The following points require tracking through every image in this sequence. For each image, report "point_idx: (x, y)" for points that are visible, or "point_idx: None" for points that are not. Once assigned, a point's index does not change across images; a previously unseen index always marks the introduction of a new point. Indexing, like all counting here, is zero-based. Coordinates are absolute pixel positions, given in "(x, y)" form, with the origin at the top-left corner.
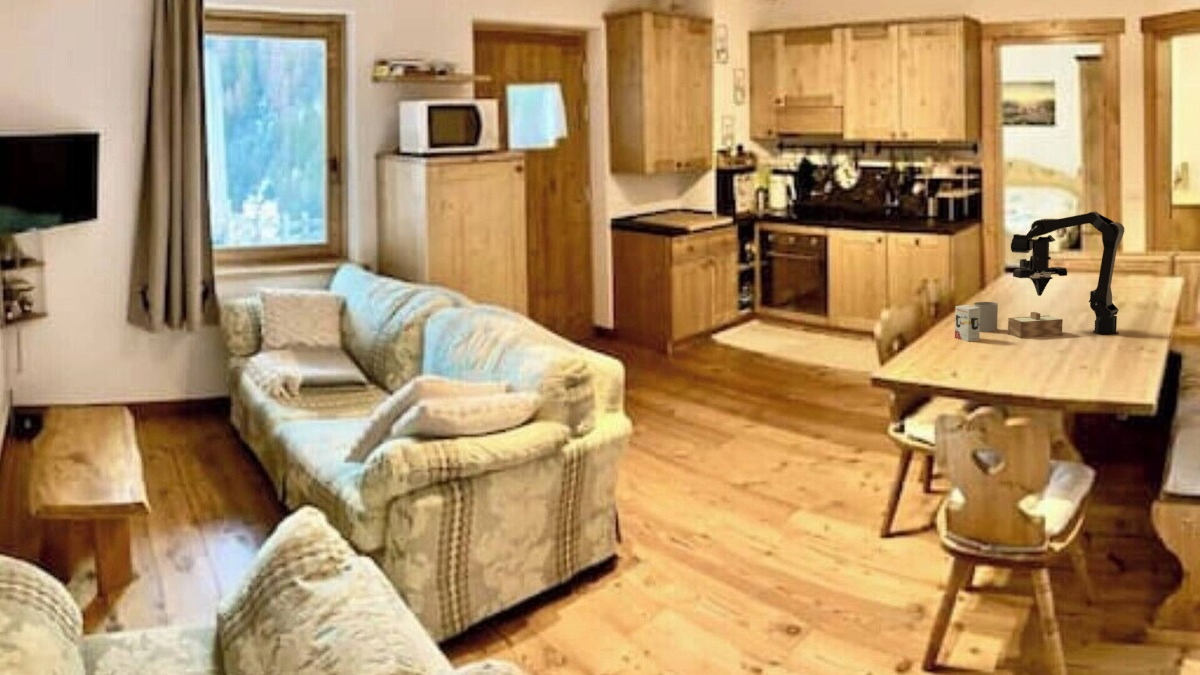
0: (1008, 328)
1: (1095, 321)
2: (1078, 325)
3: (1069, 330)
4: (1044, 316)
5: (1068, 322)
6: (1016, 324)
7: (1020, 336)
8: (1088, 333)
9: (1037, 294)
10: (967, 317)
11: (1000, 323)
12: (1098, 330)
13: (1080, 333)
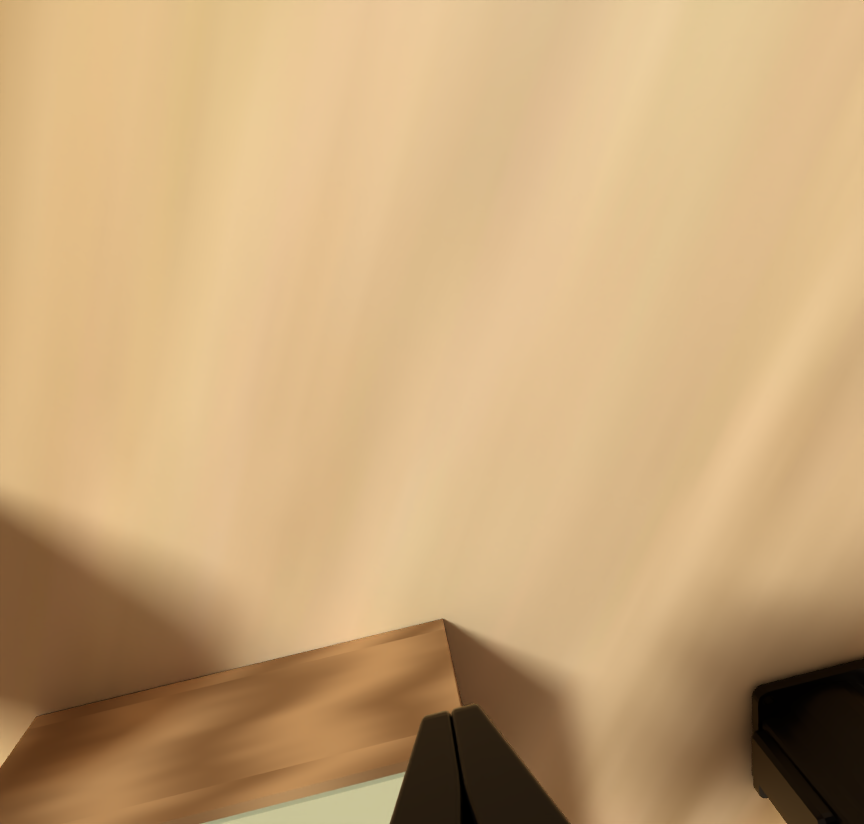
0: (6, 770)
1: (812, 821)
2: (816, 368)
3: (622, 600)
4: (392, 787)
5: (823, 167)
6: None
7: None
8: (697, 723)
9: (418, 733)
10: None
11: (12, 71)
12: (762, 789)
13: (643, 721)
